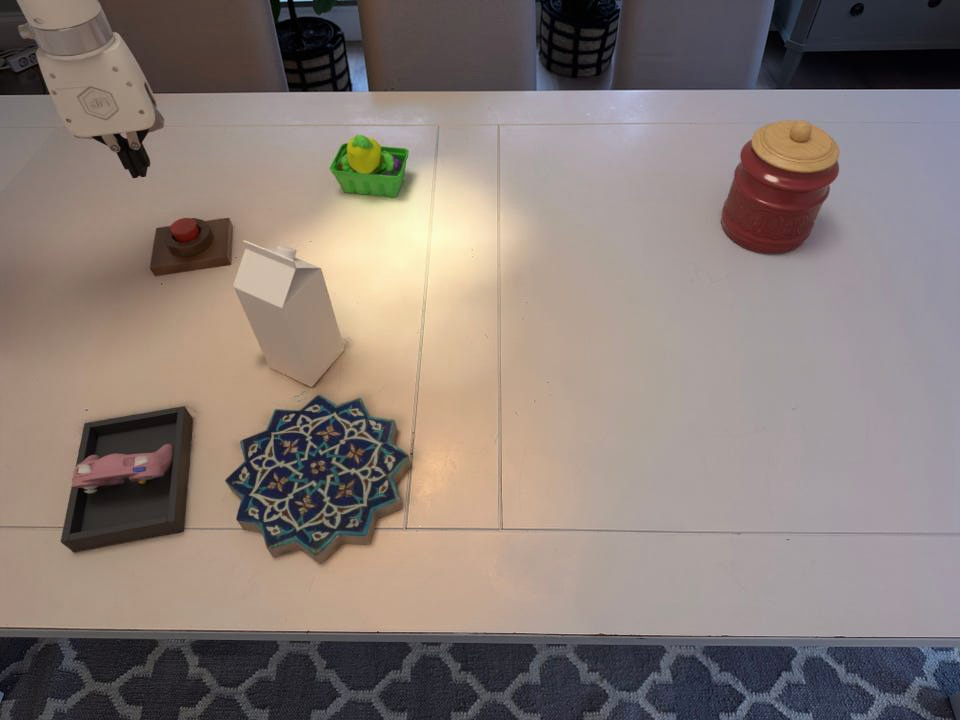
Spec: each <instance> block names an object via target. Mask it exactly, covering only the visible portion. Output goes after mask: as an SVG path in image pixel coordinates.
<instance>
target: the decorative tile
mask: <svg viewBox="0 0 960 720" xmlns="http://www.w3.org/2000/svg"><path fill="white" fill-rule="evenodd" d="M397 431H398V428H397V422H396V420H395V419H391V418H384V417H375V416H371V415H370V414H369V412H368V409H367V407H366V405H365V403H364V401H363V398H362V397H357V398H354V399H351V400H348V401H345V402H342V403H339V404H335V403H334V402H332V401H331V400H329V399H328V398H326V397H325V396H323V395H322V394H320V393H318V394H317V395H316V396H315V397H313V398H312V399H311V400H309V402H307V403H306V404H305V405H304V406H303V407H301V408H300V409H299V410H297V409H296V410H295V409H285V408H283V409H282V408H275V409H274V410H273V412H272V415H271V418H270V419H269V422H268V424H267V427H266V429H265V430H263V431H261V432H258V433H256V434H253V435H250V436H248V437H245V438H243V439H240V441H239V444H240V448H241V451H242V455H243V459H244V461H243V462H242V463H241V464H240V465H239V466H238V467H237V468H236V469H235V470H234V471H232V473H230V474H229V475H228V476H227V477H226V478H225V484H226V485H227V486H228V487H229V489H230V491H231V492H232V493H233V494H234V495H236V497H238V498H239V499H240V502H239V506H238V510H237V513H236V518H235V519H236V521H237V522H238V524H239V525H240V527H241V528H242V530H246V531H250V532H255V533H260V534H262V537H263V540H264V544H265V547H266V550H267V551H268V552H269V554H270V556H271V557H272V558H278V557H280V556H281V557H282V556H284V555H287V554H290V553H294V552H297V551H302V552H304V553H305V554H306V555H307V556H309V557H310V558H311V559H312V560H313V561H315V562H317V563H318V564H319V565H322V564H324V562H326V560H327V559H328V558H329V557H331V556H332V555H333V554H334V553H335V552H336V551H337V550H338V549H339V548H340V547H341V546H342V545H345V544H349V545H350V544H351V545H370V544H371V543H372V540H373V536H374V532H375V528H376V525H377V521H378V519H380V518H383V517H386V516H387V515H390V514H392V513H395V512H397V511H400V510H402V509H403V503H402V499H401V496H400V493H399V491H398V488H397V484H398V483H399V481H400V480H401V479H402V478H403V477H404V475H405V474H406V473H407V472H408V471H409V469H410V468H411V467H412V464H411V459H410V455H409V454H408V453H407V452H406V451H404V450H403V449H402V448H400V447H398V446H397V445H396V444H395V443H396V440H397V436H398V432H397ZM396 435H397V436H396Z"/></svg>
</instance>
